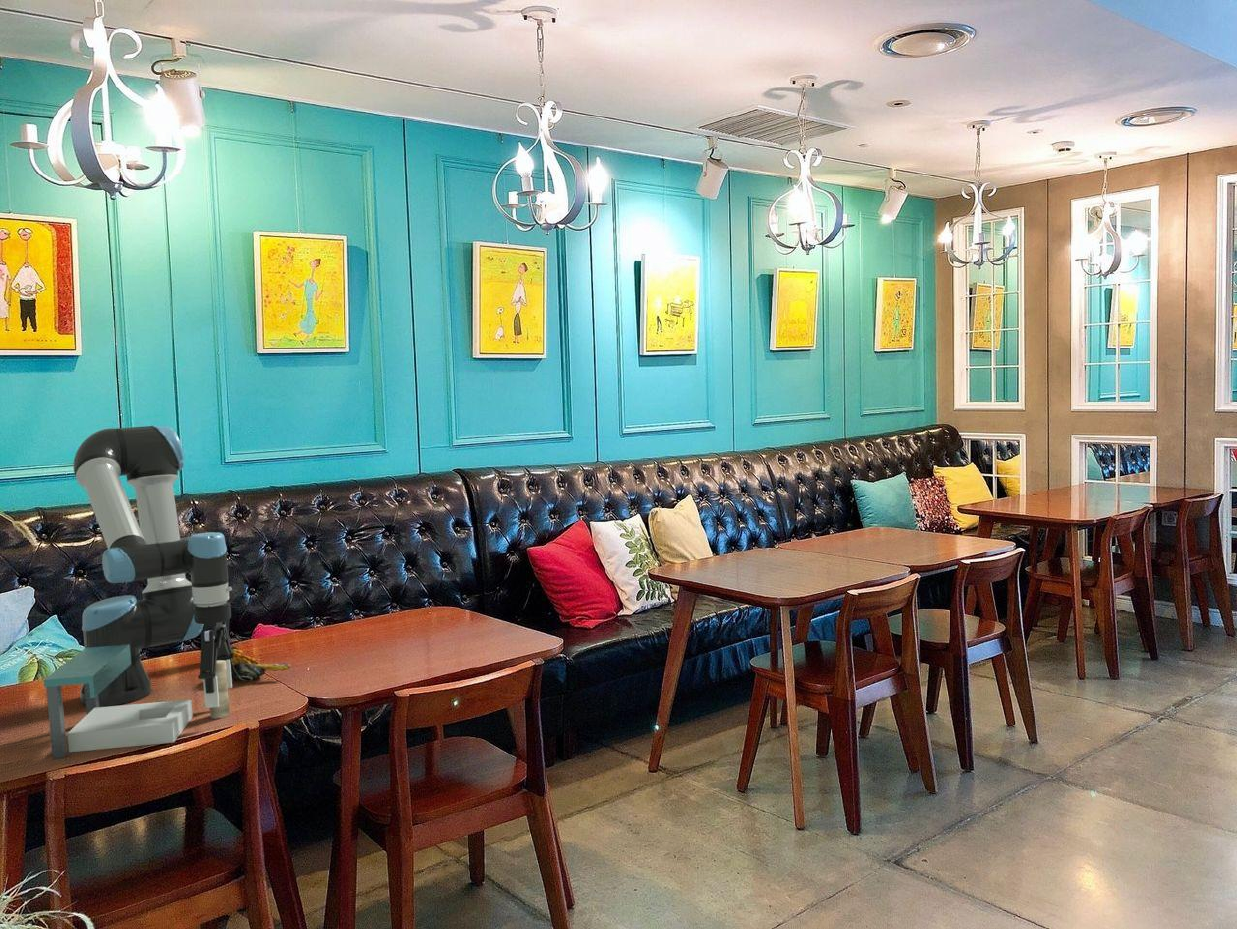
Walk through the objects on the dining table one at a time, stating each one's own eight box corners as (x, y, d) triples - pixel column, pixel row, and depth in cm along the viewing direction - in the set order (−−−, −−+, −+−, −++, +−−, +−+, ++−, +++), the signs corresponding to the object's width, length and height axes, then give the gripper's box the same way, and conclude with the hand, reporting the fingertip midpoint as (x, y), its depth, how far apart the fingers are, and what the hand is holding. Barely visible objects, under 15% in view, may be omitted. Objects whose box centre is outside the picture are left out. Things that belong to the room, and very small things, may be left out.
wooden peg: (212, 713, 221) (208, 661, 219) (231, 711, 221) (227, 659, 220) (208, 719, 217) (204, 666, 216) (227, 717, 217) (223, 664, 216)
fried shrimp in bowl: (219, 655, 252) (287, 629, 253) (230, 696, 248) (298, 670, 250) (204, 651, 243) (273, 624, 244) (215, 694, 240) (285, 666, 241)
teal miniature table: (92, 720, 219) (86, 647, 217) (135, 716, 220) (129, 644, 219) (50, 760, 195) (43, 679, 194) (99, 756, 197) (92, 675, 196)
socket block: (95, 725, 215) (94, 707, 215) (192, 716, 219) (191, 699, 219) (69, 752, 200) (67, 733, 199) (173, 742, 203) (172, 723, 203)
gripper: (217, 614, 205) (225, 713, 207) (240, 590, 230) (247, 679, 231) (179, 617, 204) (187, 717, 205) (206, 593, 228) (213, 682, 230)
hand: (219, 697), depth 218 cm, fingers open, 13 cm apart
